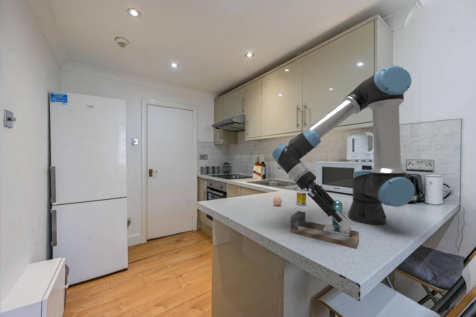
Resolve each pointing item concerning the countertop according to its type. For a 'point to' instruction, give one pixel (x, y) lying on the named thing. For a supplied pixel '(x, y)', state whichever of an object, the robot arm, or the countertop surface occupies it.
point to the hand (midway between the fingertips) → (349, 227)
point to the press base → (320, 231)
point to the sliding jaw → (335, 227)
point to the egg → (277, 201)
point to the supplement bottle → (301, 197)
